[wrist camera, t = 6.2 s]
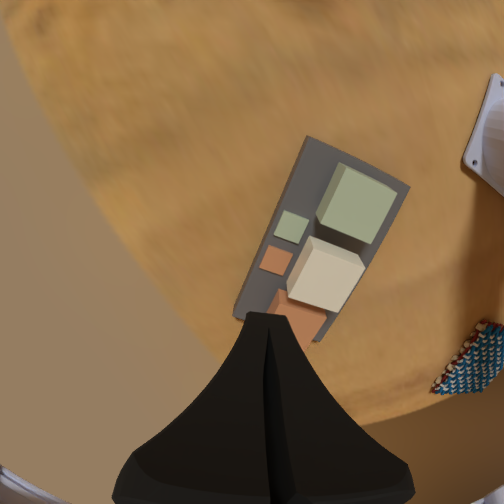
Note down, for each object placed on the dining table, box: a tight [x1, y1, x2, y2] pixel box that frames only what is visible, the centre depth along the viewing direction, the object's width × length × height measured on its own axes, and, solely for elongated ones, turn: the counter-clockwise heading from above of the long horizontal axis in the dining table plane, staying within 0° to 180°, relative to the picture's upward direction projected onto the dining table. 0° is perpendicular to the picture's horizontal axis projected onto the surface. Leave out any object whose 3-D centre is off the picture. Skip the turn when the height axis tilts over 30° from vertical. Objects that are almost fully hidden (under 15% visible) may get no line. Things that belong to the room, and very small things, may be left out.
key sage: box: [316, 162, 397, 244], centre depth 16 cm, size 3×3×3 cm
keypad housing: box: [232, 135, 410, 342], centre depth 19 cm, size 7×13×1 cm, turn 160°
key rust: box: [266, 289, 327, 352], centre depth 20 cm, size 3×3×3 cm
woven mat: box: [431, 320, 504, 395], centre depth 25 cm, size 10×11×2 cm
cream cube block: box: [286, 236, 365, 313], centre depth 17 cm, size 3×3×3 cm
